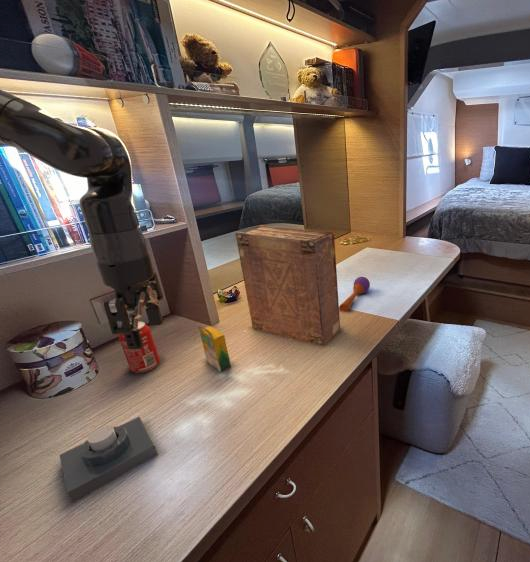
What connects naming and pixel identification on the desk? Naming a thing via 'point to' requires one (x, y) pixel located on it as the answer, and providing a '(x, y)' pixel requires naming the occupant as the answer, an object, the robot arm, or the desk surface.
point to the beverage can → (141, 351)
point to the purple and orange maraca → (356, 292)
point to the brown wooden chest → (291, 282)
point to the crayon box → (215, 348)
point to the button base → (106, 459)
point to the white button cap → (102, 438)
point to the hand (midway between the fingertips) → (147, 335)
